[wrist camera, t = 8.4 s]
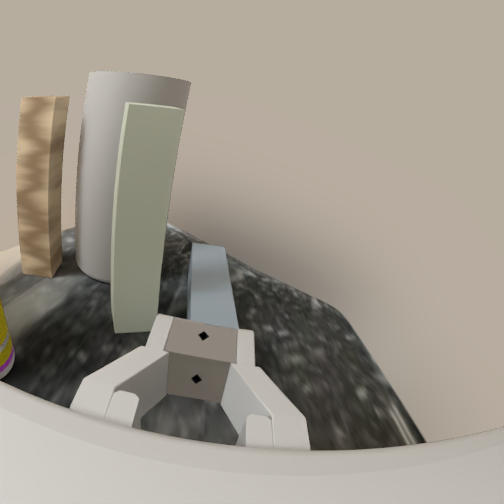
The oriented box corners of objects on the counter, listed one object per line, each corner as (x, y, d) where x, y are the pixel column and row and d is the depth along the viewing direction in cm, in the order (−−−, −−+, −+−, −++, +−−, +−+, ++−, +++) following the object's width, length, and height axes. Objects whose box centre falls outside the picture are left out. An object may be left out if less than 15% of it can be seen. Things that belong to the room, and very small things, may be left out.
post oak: (23, 273, 34) (21, 97, 25) (35, 257, 38) (38, 95, 29) (51, 278, 35) (55, 97, 26) (62, 261, 39) (69, 96, 30)
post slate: (190, 358, 25) (192, 242, 44) (185, 392, 27) (188, 270, 46) (245, 362, 26) (224, 246, 45) (235, 395, 28) (219, 274, 47)
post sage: (114, 333, 31) (129, 104, 21) (111, 307, 34) (125, 101, 25) (156, 330, 33) (184, 110, 24) (148, 305, 36) (173, 106, 27)
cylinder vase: (174, 256, 48) (204, 86, 38) (138, 298, 37) (166, 75, 27) (105, 235, 49) (123, 77, 39) (58, 269, 38) (69, 71, 27)
